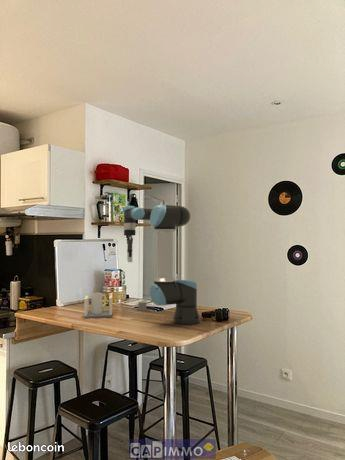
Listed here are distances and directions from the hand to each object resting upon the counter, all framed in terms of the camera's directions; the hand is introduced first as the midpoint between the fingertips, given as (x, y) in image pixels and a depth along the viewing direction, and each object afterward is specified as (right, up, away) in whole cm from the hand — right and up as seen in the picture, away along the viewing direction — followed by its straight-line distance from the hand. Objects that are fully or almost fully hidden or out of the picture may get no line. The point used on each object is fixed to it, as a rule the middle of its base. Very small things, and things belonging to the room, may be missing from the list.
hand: (129, 261), depth 236 cm
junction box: (+8, -32, 0) cm, 33 cm away
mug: (-17, -30, -17) cm, 38 cm away
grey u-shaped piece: (-17, -31, -19) cm, 40 cm away
